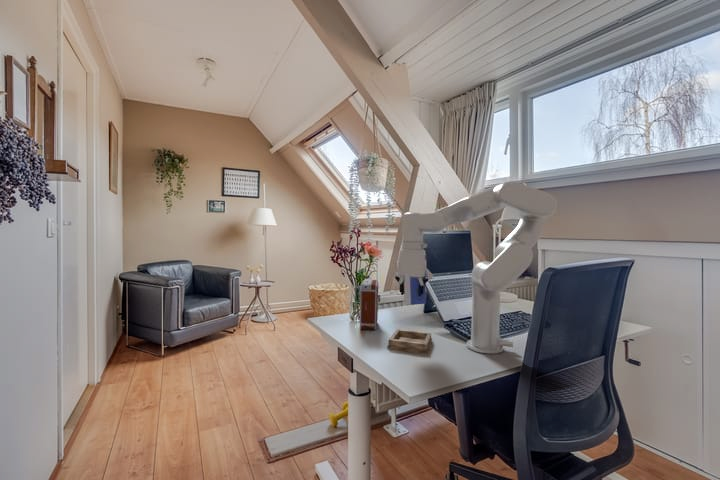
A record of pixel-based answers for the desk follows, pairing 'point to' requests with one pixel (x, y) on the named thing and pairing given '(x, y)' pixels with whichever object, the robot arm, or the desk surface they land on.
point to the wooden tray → (410, 341)
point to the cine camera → (369, 304)
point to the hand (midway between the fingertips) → (411, 294)
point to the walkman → (413, 291)
